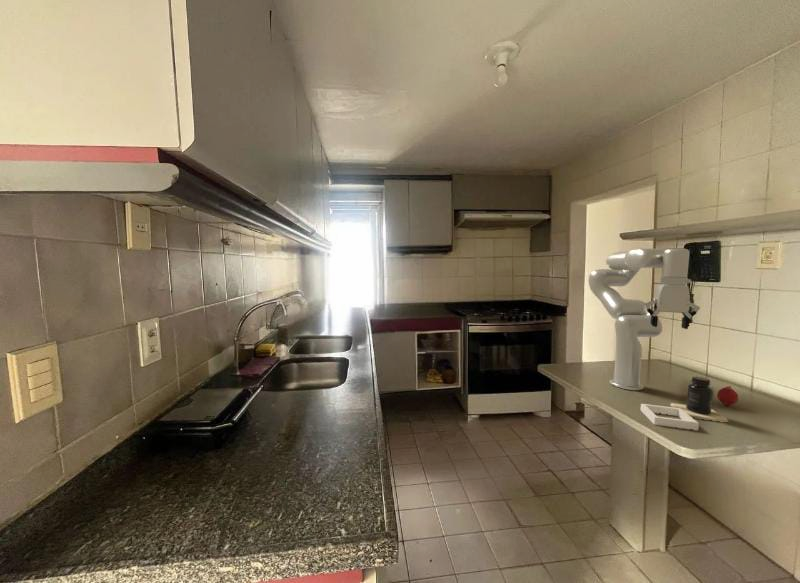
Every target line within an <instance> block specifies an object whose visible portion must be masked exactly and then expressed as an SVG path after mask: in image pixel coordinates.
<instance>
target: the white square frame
mask: <svg viewBox="0 0 800 583" xmlns="http://www.w3.org/2000/svg"><path fill="white" fill-rule="evenodd" d="M640 412H642V414H643V415H644V416H646V418H647V419H648V420H649V421H650V422H651V423H652V424H653V425H656V426H662V427H671V428H676V427H677V429H683V428H684V429H685V430H690V429H693V430H692V431H699V426H700V424H699V422H698V421H697V419H693V418H692V417H691V416H689V415H688V414H687V413H686V412H684V411H683V410H682V409H680V408H673V407H672V406H663V405H656V404H648V403H640ZM659 413H661V414H660V415H666V414H668V416H675V417H678V418H671V417H664V416H657V415H656V414H659ZM684 429H683V430H684Z"/></svg>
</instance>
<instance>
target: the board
mask: <svg viewBox="0 0 800 583" xmlns="http://www.w3.org/2000/svg"><path fill="white" fill-rule="evenodd" d="M670 407H673V408H680V409H682V410H683V411H684V412H686V413H687V414H688V415H689V416H691V417H692V418H695V419H694V420H701V419H704V420H703V421H709V420H712V421H711V422H716V421H720V422H719V423H724V422H728V423H729V420H728V419H727V418H726V417H724V416H723V415H722V414H720V413H718V412H716V411H715V409H712V408H711V413H710V414H699V413H695V412H692V411H690V410H688V409H687V408H686V404H684V403H675V402H674V403H673V402H670Z"/></svg>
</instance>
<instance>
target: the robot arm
mask: <svg viewBox="0 0 800 583" xmlns="http://www.w3.org/2000/svg"><path fill="white" fill-rule="evenodd" d="M689 262H690V250H689V249H687V248H636V249H630V250H625V251H617V252H616V251H615V252H612V253H611V254H609V255H608V256H607V257H606V260H605V263H606V266H607V267H608V268H601V269H600V268H599V269H595V270H593V271H591V272H590V274H589V275H588V286H589V288H590V290H591V292H592V294H594V296H595V297H597V299H598V301H600V302H601V304H602V305H603V307H604V309H605V310H606V311H607V313H608V314H609V316H610V317H611V318H612V319H615V322H614V329H615V330H614V331H615V342H616V343H615V355H614V356H615V358H614V372H613V378H611V379H609V384H611V385H612V386H613V385H614V386H613V387H616V388H619V389H623V390H627V391H642V390H644V387H645V386H644V384H642V383H641V382H640V381H641V380H640V379H641V367H642V354H643V347H642V344H641V342H640V340H639V339H638V338H655V337H658V336H659V335H661V333H662V332H663V324H662V322H661V320H660V319H659V317H658V315H659V314H660V313H675V314H676V313H677V314H681V315H682V316H683V317H682V318H681V327H680V328H682V329H685V330H688V329H689V327H690V324H691V323H690V321H691V319H692V318H693V317H694V316H695V315H697V313H698V312H699V310H700V309H701V307H700V306H699V305H697V304H696V303H693V302H691V300H690V299H691V296H690V289H689V286H687V285H688V284H690V283H691V282H692V279H689V278H688V274H689V272H688V271H689V264H690V263H689ZM643 268H644V269H645V268H647V269H661V276H660V284H657V285H656V289H655V293H654V296H653V297H654V298H653V300H651V301H647V302H644V301H642V300H640V299H629V298H624V297H622V295H621V294H620V292H618V290H616V289H614V288H612V287H620V288H621V287H625V286H627V285H628V284H629V283H630V282H631V281H632V280H633V279H634V277H635V276H636V275H637V274H638V272H640V270H641V269H643ZM651 306H652V309H653V310H652V309H651ZM690 307H691V308H692V309H691V311H690Z"/></svg>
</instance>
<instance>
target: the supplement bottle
mask: <svg viewBox="0 0 800 583" xmlns="http://www.w3.org/2000/svg"><path fill="white" fill-rule="evenodd" d="M710 382H711V380H710V379H709V378H706V377H702V376H692V377H691V383H689V384H688V385H687V391H686V404H685V405H686V408H687V409H688V410H690V411H692V412H695V413H699V414H710V413H711V409H712V407H713V395H714V390H713V388H712V387H711V386H710V385H711V383H710Z"/></svg>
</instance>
